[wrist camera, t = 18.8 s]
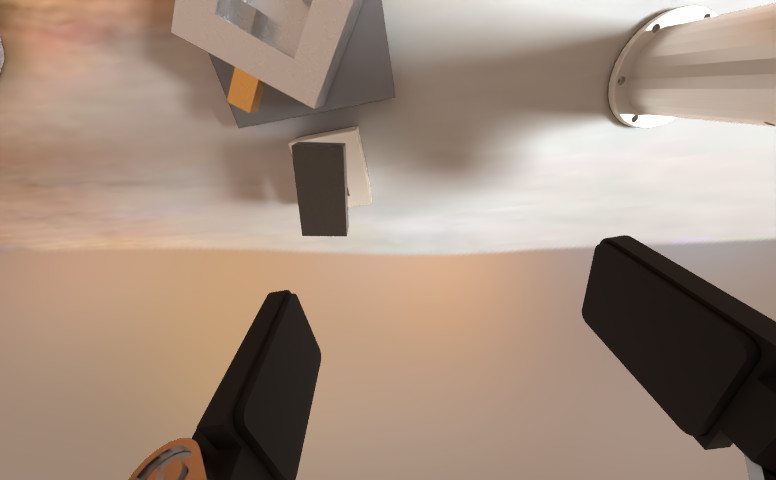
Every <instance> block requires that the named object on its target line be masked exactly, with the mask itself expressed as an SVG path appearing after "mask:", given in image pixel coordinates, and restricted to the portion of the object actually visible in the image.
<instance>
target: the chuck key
mask: <svg viewBox="0 0 776 480" xmlns="http://www.w3.org/2000/svg"><path fill="white" fill-rule="evenodd" d="M291 148H292V156H293V164H294V172H295V180H296V188H297V196H298V204H299V212H300V220H301V228H302V236H347V232H348V227H349V224H348V196H347V167H346V143H326V142H297V143H295V144H294V145H292V146H291Z"/></svg>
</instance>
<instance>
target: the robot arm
mask: <svg viewBox="0 0 776 480" xmlns="http://www.w3.org/2000/svg"><path fill="white" fill-rule="evenodd" d="M608 97H609V104H610V107H611V110H612V112H613V114H614V115H615V116H616V118H617V119H618V120H619V121H621V122H622V123H623V124H626V125H628V126H632V127H638V128H650V127H655V126H659V125H662V124H665V123H667V122H669V121H671V120H673V119H675V118H686V119H697V120H708V121H719V122H730V123H741V124H752V125H763V126H774V127H776V3H772V4H767V5H763V6H758V7H754V8H749V9H744V10H740V11H735V12H731V13H726V14H721V15H717V14H716V13H715V12H714V11H712V10H710V9H709V8H707V7H704V6H698V5H691V6H683V7H679V8H675V9H672V10H669V11H667V12H665V13H662V14H660V15H659V16H657V17H655V18H654V19H652V20H650V21H649V22H648V23H647V24H646V25H644V26H643V27H642V28H641V29H640V30H639V31H638V32H637V33H636V34H635V35H634V36H633V37H632V38H631V39H630V40H629V42H628V43H627V45H626V46H625V47H624V49H623V50H622V52H621V54H620V56H619V57H618V59H617V61H616V63H615V66H614V68H613V71H612V74H611V78H610V82H609V91H608ZM582 315H583V318H584V320H585V322H586V323H587V324H588V325H589V326H590V328H591V329H592V330H593V331H594V332H595V333H596V334H597V336H598V337H599V338H600V339H601V340H602V341H603V342H604V343H605V345H606V346H607V347H608V348H609V349H610V350H611V351H612V352H613V354H614V355H615V356H616V357H617V358H618V359H619V360H620V361H621V363H622V364H624V366H625V367H626V368H627V369H628V370H629V372H630V373H631V374H632V375H633V376H634V377H635V378H636V379H637V381H638V382H639V383H640V384H641V385H642V386H643V387H644V388H645V389H646V391H647V392H648V393H649V394H650V395H651V396H652V397H653V398H654V400H655V401H656V402H657V403H658V404H659V405H660V406H661V408H662V409H663V410H664V411H665V412H666V413H667V414H668V415H669V417H670V418H671V419H672V420H673V421H674V422H675V423H676V424H677V426H678V427H679V428H680V429H681V430H682V431H684V432H685V433H686V434H689V435H691V436H693V437H694V438H695V439H696V440H697V441H698V442H699V443H700V445H701V446H702V447H703V448H704V449H705V450H707V449H716V448H725V447H730V446H731V445H732V444H733V443H734V444H735V445H736V446H737V447H738V448H739V449H740V450H741V451H742V452H743V453H744V457H745V462H746V467H747V471H748V476H749V480H776V322H775V321H773V320H772V319H770V318H768V317H767V316H765V315H763V314H762V313H760V312H758V311H756V310H755V309H753V308H751V307H750V306H748V305H746V304H745V303H743V302H741V301H739V300H738V299H736V298H734V297H732V296H731V295H729V294H727V293H726V292H724V291H722V290H721V289H719V288H717V287H716V286H714V285H712V284H710V283H709V282H707V281H705V280H704V279H702V278H700V277H698V276H697V275H695V274H693V273H692V272H690V271H688V270H687V269H685V268H683V267H681V266H680V265H678V264H676V263H675V262H673V261H671V260H670V259H668V258H666V257H664V256H663V255H661V254H659V253H658V252H656V251H654V250H652V249H651V248H649V247H647V246H646V245H644V244H642V243H641V242H639V241H637V240H635V239H634V238H632V237H630V236H625V235H624V236H617V237H611V238H605V239H603V240H602V241H601V242H600V244H599V245H597V246H596V248H595V252H594V256H593V261H592V266H591V270H590V275H589V280H588V284H587V289H586V294H585V298H584V303H583V308H582ZM320 362H321V352H320V349H319V346H318V344H317V342H316V339H315V337H314V335H313V332H312V330H311V328H310V325H309V323H308V320H307V318H306V316H305V314H304V311H303V309H302V307H301V304H300V302H299V299H298V297H297V295H296V294H291V292H290V291H289V290H284V291H278V292H272V293H269V294H268V295H267V298H266V299H265V301H264V303H263V305H262V307H261V308H260V310H259V312H258V314H257V316H256V318H255V319H254V322H253V323H252V325H251V327H250V329H249V331H248V332H247V335H246V336H245V338H244V340H243V342H242V344H241V346H240V347H239V349H238V351H237V353H236V355H235V357H234V359H233V360H232V362H231V364H230V366H229V368H228V370H227V372H226V374H225V376H224V378H223V379H222V381H221V383H220V385H219V387H218V389H217V390H216V392H215V394H214V396H213V398H212V400H211V402H210V403H209V406H208V407H207V409H206V411H205V413H204V415H203V417H202V418H201V420H200V422H199V424H198V426H197V429H196V431H195V433H194V435H193V437H192V439H191V438H180V439H177V440H174V441H171V442H169V443H167V444H166V445H164V446H162V447H161V448H159V449H157V450H156V451H155V452H154V453H152V454H151V455H150V456H149V457H148V458H146V459H145V460H144V461H143V462H142V464H141V465H140V466H139V467H138V468H137V469H136V470H135V471H134V472H133V474H132V475H131V477H130V478H129V480H295V479H296V476H297V471H298V467H299V462H300V457H301V452H302V448H303V443H304V438H305V434H306V429H307V424H308V419H309V415H310V409H311V405H312V400H313V396H314V391H315V386H316V381H317V376H318V371H319V367H320Z"/></svg>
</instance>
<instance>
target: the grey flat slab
mask: <svg viewBox="0 0 776 480" xmlns="http://www.w3.org/2000/svg"><path fill="white" fill-rule="evenodd" d="M208 53H209V52H208ZM209 55H210V57H211V60H212V62H213V65H214V67H215V70H216V72H217V75H218V77H219V80H220V82H221V85H222V87H223V90H224V92H225V95H226V97H227V98H228V94H229V90H230V86H231V81H232V77H233V73H234V69H235V66H233V65H231V64H229V63H227V62H225V61H224V60H222V59H220V58H218V57H216V56H214V55H212V54H211V53H209ZM391 98H395V92H394V85H393V78H392V71H391V64H390V57H389V50H388V43H387V36H386V29H385V22H384V15H383V8H382V1H381V0H364V1H363V4H362V7H361V9H360V12H359V14H358V17H357V20H356V22H355V25H354V28H353V30H352V33H351V36H350V38H349V41H348V44H347V46H346V49H345V51H344V54H343V57H342V59H341V62H340V65H339V67H338V70H337V73H336V75H335V78H334V81H333V83H332V86H331V88H330V91H329V94H328V96H327V99H326V102H325V104H324V106H321V107H318V108H315V109H313V108H311V107H309V106H308V105H306V104H304V103H302V102H300V101H298V100H296V99H295V98H293V97H291V96H289V95H287V94H285V93H283V92H281V91H280V90H278V89H276V88H274V87H272V86H270V85H268V84H267V83H266V84H265V87H264V91H263V94H262V98H261V101H260V105H259V108H258V112H253V113H248V112H246V111H244V110H242V109H240V108H238V107H236V106H234V105H232V104H230V103H229V105H230V107H231V110H232V112H233V115H234V117H235V120H236V122H237V125H238V127H239V128H242V127H248V126H253V125H258V124H263V123H268V122H273V121H278V120H283V119H289V118H294V117H299V116H304V115H309V114H314V113H319V112H324V111H330V110H335V109H340V108H345V107H350V106H355V105H360V104H365V103H371V102H376V101H381V100H386V99H391Z"/></svg>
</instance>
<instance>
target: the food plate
mask: <svg viewBox="0 0 776 480" xmlns="http://www.w3.org/2000/svg"><path fill="white" fill-rule="evenodd" d="M0 36H1V35H0ZM1 42H2V40H1V37H0V72H1V70H2V69H1V67H2V66H3V65H4V64H3V63H4V48H3V46H2V45H1V44H2V43H1ZM0 74H1V73H0Z"/></svg>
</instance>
